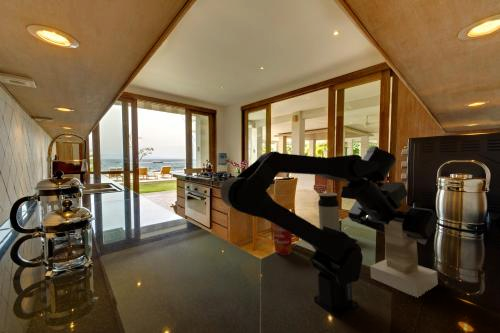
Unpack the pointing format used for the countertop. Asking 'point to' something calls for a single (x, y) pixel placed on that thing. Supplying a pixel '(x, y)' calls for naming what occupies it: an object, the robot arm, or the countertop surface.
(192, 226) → the countertop surface
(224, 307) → the countertop surface
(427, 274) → the base slab
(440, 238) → the countertop surface
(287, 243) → the paper cup
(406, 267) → the oak post
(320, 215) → the travel mug
